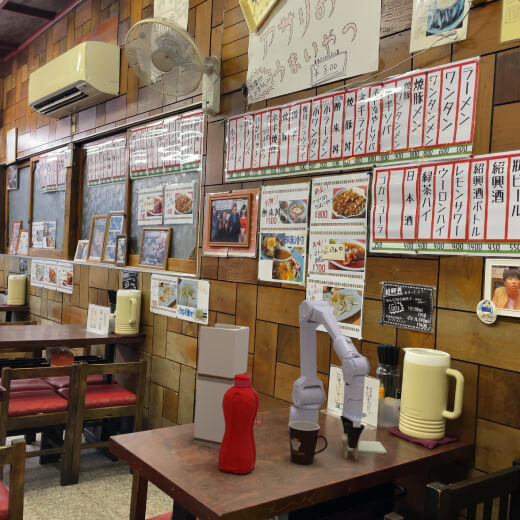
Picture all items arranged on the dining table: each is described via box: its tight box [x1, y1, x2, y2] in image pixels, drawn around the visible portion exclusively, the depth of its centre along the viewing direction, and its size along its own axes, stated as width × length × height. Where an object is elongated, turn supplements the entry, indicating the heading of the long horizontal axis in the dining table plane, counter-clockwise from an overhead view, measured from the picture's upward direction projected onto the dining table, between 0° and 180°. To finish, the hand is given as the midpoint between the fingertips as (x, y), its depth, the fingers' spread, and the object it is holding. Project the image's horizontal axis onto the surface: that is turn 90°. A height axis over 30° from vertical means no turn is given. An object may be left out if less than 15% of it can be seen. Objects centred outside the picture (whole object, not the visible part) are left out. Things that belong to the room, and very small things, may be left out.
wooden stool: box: [341, 433, 361, 460], centre depth 159 cm, size 5×5×6 cm
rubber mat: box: [348, 440, 388, 454], centre depth 168 cm, size 12×9×1 cm
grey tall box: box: [192, 323, 250, 450], centre depth 164 cm, size 11×11×35 cm
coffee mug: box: [288, 421, 329, 466], centre depth 152 cm, size 12×9×10 cm
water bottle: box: [218, 374, 264, 475], centre depth 144 cm, size 9×11×25 cm
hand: (350, 444), depth 159 cm, fingers closed on wooden stool, 5 cm apart
